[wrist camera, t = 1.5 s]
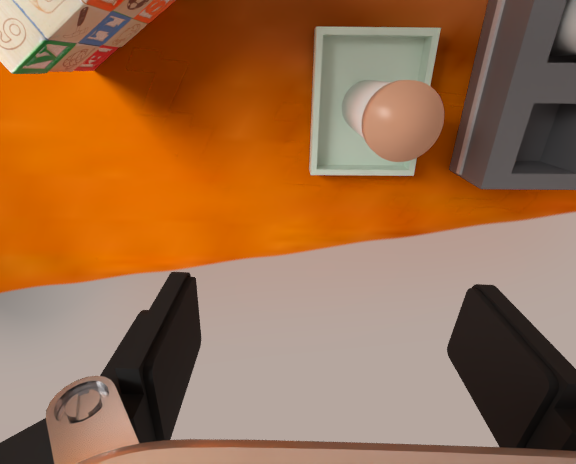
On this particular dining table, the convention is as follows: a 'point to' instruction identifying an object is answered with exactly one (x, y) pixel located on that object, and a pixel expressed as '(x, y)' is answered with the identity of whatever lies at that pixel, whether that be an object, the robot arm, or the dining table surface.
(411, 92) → the plug
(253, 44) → the dining table surface
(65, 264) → the dining table surface
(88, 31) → the stack of blocks
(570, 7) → the grey capped white peg
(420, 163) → the dining table surface
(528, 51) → the socket strip
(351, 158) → the tray
